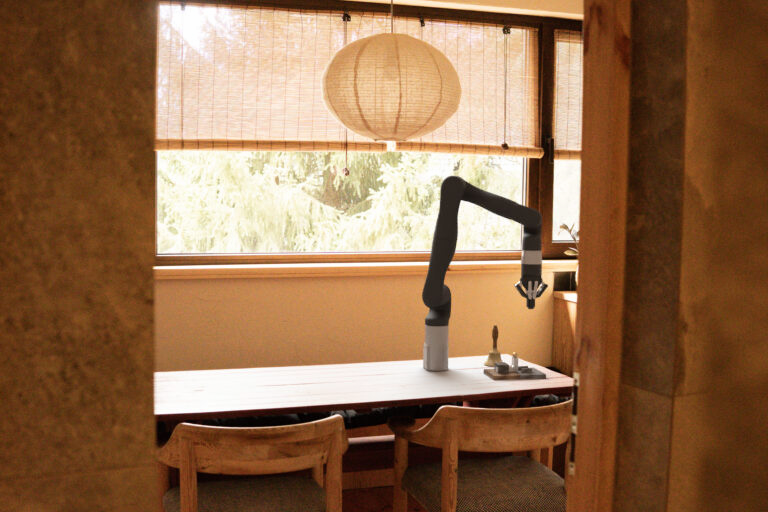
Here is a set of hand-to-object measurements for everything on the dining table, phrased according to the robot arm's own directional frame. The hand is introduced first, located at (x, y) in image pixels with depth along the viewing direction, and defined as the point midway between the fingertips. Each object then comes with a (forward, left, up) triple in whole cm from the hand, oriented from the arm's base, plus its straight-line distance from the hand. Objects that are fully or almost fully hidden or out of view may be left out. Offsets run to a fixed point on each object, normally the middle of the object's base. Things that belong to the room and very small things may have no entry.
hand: (530, 308), depth 263 cm
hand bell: (-7, +20, -25) cm, 33 cm away
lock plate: (-6, 0, -25) cm, 26 cm away
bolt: (-9, 0, -23) cm, 25 cm away
